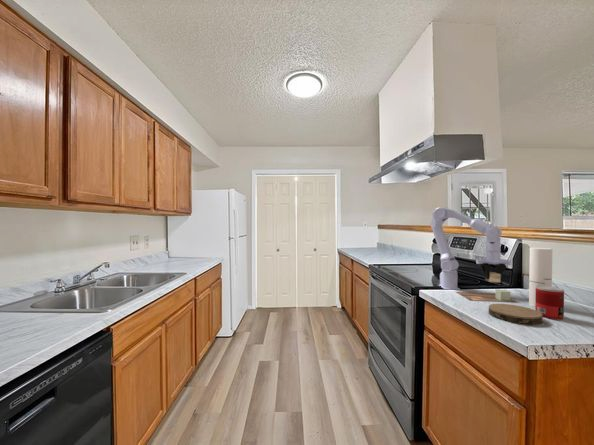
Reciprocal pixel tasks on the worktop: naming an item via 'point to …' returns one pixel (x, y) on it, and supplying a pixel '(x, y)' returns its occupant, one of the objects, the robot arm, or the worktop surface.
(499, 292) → the sage cube
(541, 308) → the canned food
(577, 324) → the worktop surface
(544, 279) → the cylindrical container
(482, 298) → the brown flat board
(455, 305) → the worktop surface
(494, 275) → the maple brick
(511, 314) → the wood slice
